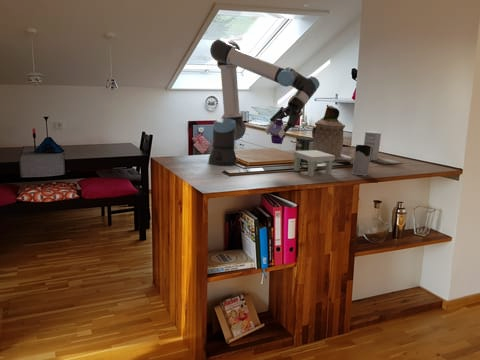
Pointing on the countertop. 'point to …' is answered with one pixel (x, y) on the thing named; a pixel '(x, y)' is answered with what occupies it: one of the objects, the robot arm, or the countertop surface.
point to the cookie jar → (329, 134)
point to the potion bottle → (276, 130)
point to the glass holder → (362, 159)
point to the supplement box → (373, 142)
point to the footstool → (313, 160)
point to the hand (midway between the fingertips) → (273, 134)
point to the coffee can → (304, 146)
